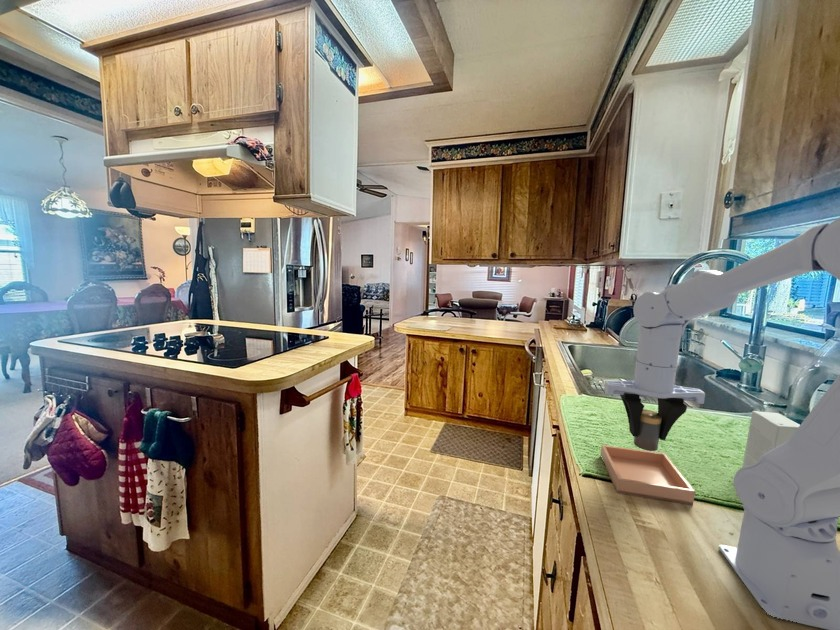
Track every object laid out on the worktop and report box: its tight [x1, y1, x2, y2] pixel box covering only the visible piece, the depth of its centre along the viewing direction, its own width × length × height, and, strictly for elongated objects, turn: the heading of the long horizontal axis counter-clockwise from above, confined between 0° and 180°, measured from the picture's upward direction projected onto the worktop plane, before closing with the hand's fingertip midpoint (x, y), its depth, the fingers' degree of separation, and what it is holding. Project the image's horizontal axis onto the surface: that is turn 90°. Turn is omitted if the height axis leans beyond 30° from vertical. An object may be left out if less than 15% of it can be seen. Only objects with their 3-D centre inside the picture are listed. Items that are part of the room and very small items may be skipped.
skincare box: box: [741, 410, 801, 468], centre depth 59 cm, size 6×4×12 cm
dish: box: [600, 444, 696, 506], centre depth 60 cm, size 11×11×2 cm
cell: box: [633, 408, 662, 452], centre depth 59 cm, size 4×4×6 cm
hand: (646, 435), depth 59 cm, fingers closed on cell, 4 cm apart
